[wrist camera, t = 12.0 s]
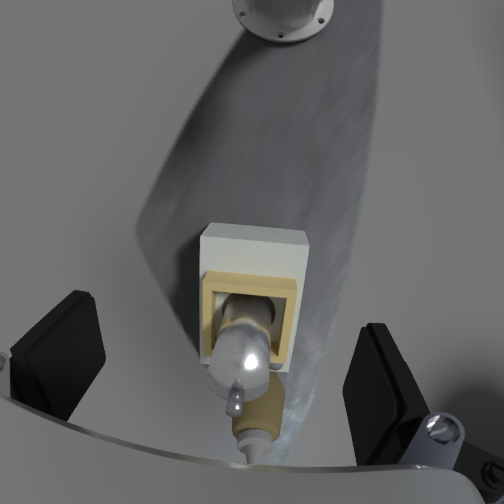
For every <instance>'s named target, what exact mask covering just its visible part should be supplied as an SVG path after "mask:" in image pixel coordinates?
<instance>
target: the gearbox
mask: <svg viewBox="0 0 504 504" xmlns="http://www.w3.org/2000/svg"><path fill="white" fill-rule="evenodd" d="M308 252H309V243H308V240H307V237H306V234H305V231H300V230H290V229H279V228H269V227H258V226H247V225H235V224H223V223H210V224H209V225H208V227H207V228H206V229H205V230H204V232H203V233H202V234H201V236H200V291H199V309H200V363H203V364H210V361H211V358H212V354H213V351H214V347H215V344H216V340H217V336H218V333H219V329H220V326H221V322H222V319H223V315H224V312H225V309H226V305H227V303H228V301H229V300H230V299H231V298H232V297H233V296H235V295H237V294H249V295H259V296H262V297H263V298H264V299H265V300H266V301H267V302H268V303H269V305H270V307H271V344H270V371H277V372H289V367H290V361H291V356H292V351H293V345H294V340H295V334H296V328H297V323H298V317H299V311H300V305H301V299H302V292H303V286H304V280H305V273H306V266H307V259H308Z"/></svg>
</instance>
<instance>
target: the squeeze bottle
mask: <svg viewBox="0 0 504 504" xmlns="http://www.w3.org/2000/svg"><path fill="white" fill-rule="evenodd" d="M284 399H285V389H284V387H283V385H282V383H281V381H280V379H279V377H278V376H277V374H276V372H275V371H270V372H269V386H268V389H267V390H266V392H265V393H264V394H263V395H262V396H260V397H259V398H257V399H255V400H251V401H246V402H243V409H242V415H241V416H239V417H232V432H233V435H234V436H235V437H236V438H237V440H238V441H237V448H238V449H239V450H240V451H241V452H242V453H244V454H246V460H247V464H255V465H260V462H261V459H262V456H263V455H265V454H267V453H269V452H270V451H271V450H272V447H273V441H275V440H276V439H277V438H278V437H279V435H280V428H281V421H282V414H283V406H284Z"/></svg>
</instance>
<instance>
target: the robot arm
mask: <svg viewBox="0 0 504 504" xmlns="http://www.w3.org/2000/svg"><path fill="white" fill-rule="evenodd" d="M232 5H233V9H234V13H235V15H236V17H237V19H238V20H239V22H240V23H241V25H242V26H243V27H244V28H246V29H247V30H248V31H249V32H251V33H252V34H254V35H255V36H258V37H260V38H262V39H265V40H269V41H272V42H280V43H293V42H299V41H303V40H306V39H309V38H311V37H313V36H315V35H317V34H318V33H320V32H321V31H322V30H323V29H324V28H325V27H326V26H327V24H328V23H329V21H330V19H331V17H332V14H333V10H334V1H333V0H232ZM243 15H244V16H245V17H242V16H243ZM319 22H322V24H320V23H319ZM279 36H283V38H279ZM10 351H11V354H12V357H11V358H10V359H9V357H8V356H7V354H4V353H3V352H0V504H504V460H503V459H501V458H499V457H497V456H494V455H492V454H490V453H488V452H486V451H484V450H482V449H480V448H478V447H476V446H474V445H472V444H469V443H467V442H465V441H463V440H464V434H465V432H464V428H463V426H462V424H461V423H460V421H458V419H457V418H455V417H453V416H452V415H450V414H447V413H444V412H435V413H430V411H429V409H428V407H427V405H426V402H425V401H424V398H423V396H422V394H421V392H420V390H419V388H418V386H417V383H416V381H415V379H414V377H413V375H412V373H411V371H410V369H409V367H408V365H407V364H406V362H405V361H404V359H403V357H402V355H401V353H400V351H399V350H398V348H397V346H396V344H395V342H394V340H393V338H392V336H391V334H390V332H389V331H388V328H387V327H386V325H385V324H383V323H368V324H367V326H366V327H362V328H361V331H360V334H359V337H358V341H357V344H356V347H355V351H354V354H353V357H352V360H351V364H350V367H349V370H348V373H347V376H346V379H345V382H344V385H343V397H344V402H345V407H346V412H347V416H348V422H349V426H350V431H351V436H352V442H353V447H354V452H355V457H356V463H357V466H349V467H287V466H268V465H255V464H243V463H235V462H227V461H219V460H212V459H205V458H199V457H193V456H187V455H182V454H177V453H172V452H167V451H163V450H158V449H154V448H150V447H146V446H142V445H138V444H134V443H130V442H126V441H123V440H120V439H116V438H113V437H110V436H106V435H103V434H100V433H97V432H94V431H91V430H88V429H85V428H82V427H79V426H77V425H74V424H71V423H69V422H67V421H68V419H69V417H70V416H71V414H72V413H73V411H74V410H75V408H76V406H77V405H78V403H79V402H80V400H81V399H82V397H83V396H84V394H85V393H86V391H87V389H88V388H89V386H90V385H91V383H92V382H93V380H94V379H95V377H96V376H97V374H98V373H99V371H100V370H101V369H102V367H103V365H104V364H105V360H106V355H105V350H104V346H103V342H102V337H101V332H100V327H99V322H98V316H97V310H96V305H95V300H94V298H93V297H91V294H90V293H89V292H85V291H79V290H74V291H73V292H72V293H70V294H69V295H68V296H67V297H66V298H65V299H64V300H63V301H61V302H60V303H59V304H58V305H57V306H56V307H54V308H53V309H52V310H51V311H50V312H49V313H48V314H47V315H46V316H44V317H43V318H42V319H41V320H40V321H39V322H38V323H37V324H36V325H35V326H34V327H32V328H31V329H30V330H29V332H27V333H26V334H25V335H24V336H23V337H22V338H21V339H20V340H19V341H18V342H17V343H16V344H15V345H14V346H13V347H12V348H10Z"/></svg>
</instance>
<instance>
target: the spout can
mask: <svg viewBox="0 0 504 504" xmlns="http://www.w3.org/2000/svg"><path fill="white" fill-rule="evenodd" d="M270 344H271V307H270V305H269V303H268V302H267V301H266V300H265V299H264V298H263V297H262V296H259V295H249V294H237V295H235V296H233V297H232V298H231V299H230V300H229V301H228V303H227V305H226V309H225V312H224V315H223V319H222V322H221V326H220V329H219V333H218V336H217V340H216V344H215V347H214V351H213V354H212V358H211V361H210V365H209V368H208V372H207V382H208V385H209V387H210V388H211V389H212V390H213V392H215V393H216V394H217V395H219V396H220V397H222V398H224V399H227V400H228V401H227V406H226V414H227V415H229V416H230V417H239V416H241V415H242V409H243V402H246V401H251V400H255V399H257V398H259V397H260V396H262V395H263V394H264V393H265V392H266V390H267V389H268V386H269V372H270Z"/></svg>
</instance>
